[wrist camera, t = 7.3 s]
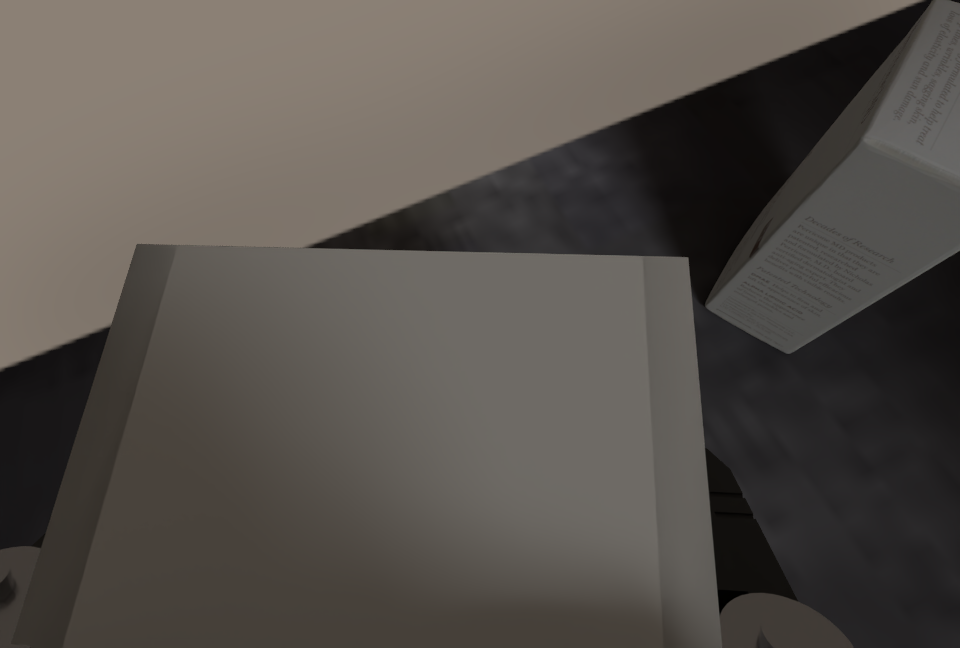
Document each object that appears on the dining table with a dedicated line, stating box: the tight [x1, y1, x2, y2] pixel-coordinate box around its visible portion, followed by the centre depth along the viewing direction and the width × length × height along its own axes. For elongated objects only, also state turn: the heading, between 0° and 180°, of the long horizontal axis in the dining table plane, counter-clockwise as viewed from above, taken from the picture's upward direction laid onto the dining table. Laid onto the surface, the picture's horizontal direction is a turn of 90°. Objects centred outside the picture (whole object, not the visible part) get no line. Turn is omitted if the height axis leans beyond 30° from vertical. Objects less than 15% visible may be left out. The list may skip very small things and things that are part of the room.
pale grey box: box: [11, 244, 722, 648], centre depth 10 cm, size 6×6×9 cm
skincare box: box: [705, 0, 960, 354], centre depth 20 cm, size 6×4×12 cm
